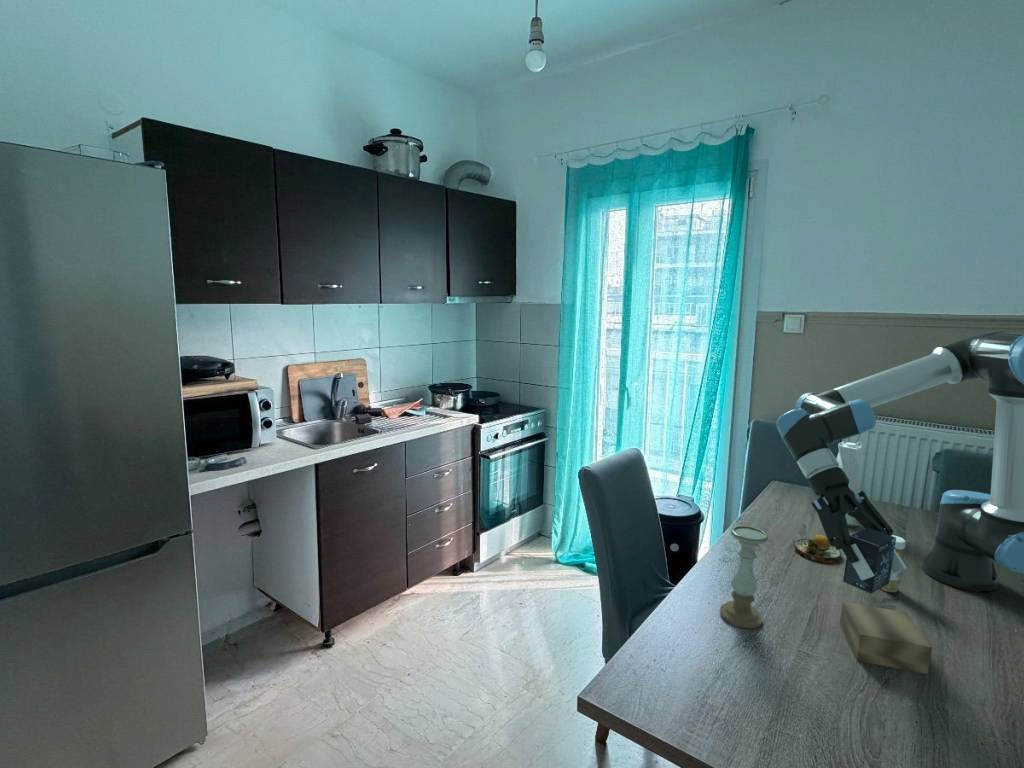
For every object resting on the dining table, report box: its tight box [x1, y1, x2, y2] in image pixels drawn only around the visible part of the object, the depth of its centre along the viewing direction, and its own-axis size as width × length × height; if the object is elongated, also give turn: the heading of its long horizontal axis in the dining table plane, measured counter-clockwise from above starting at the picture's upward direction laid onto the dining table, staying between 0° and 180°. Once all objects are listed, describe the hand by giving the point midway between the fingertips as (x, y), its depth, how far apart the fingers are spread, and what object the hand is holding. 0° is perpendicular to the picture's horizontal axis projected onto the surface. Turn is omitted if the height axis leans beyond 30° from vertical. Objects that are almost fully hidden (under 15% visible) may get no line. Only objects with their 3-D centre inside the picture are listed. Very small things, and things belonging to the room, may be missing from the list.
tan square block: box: [839, 601, 933, 675], centre depth 110 cm, size 12×12×6 cm
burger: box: [793, 534, 842, 564], centre depth 151 cm, size 12×12×8 cm
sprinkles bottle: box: [879, 534, 907, 593], centre depth 132 cm, size 5×5×14 cm
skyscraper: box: [836, 440, 863, 527], centre depth 171 cm, size 8×8×28 cm
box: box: [842, 528, 896, 594], centre depth 110 cm, size 8×6×11 cm
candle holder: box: [719, 524, 769, 629], centre depth 118 cm, size 9×9×20 cm
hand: (884, 574), depth 108 cm, fingers closed on box, 9 cm apart
